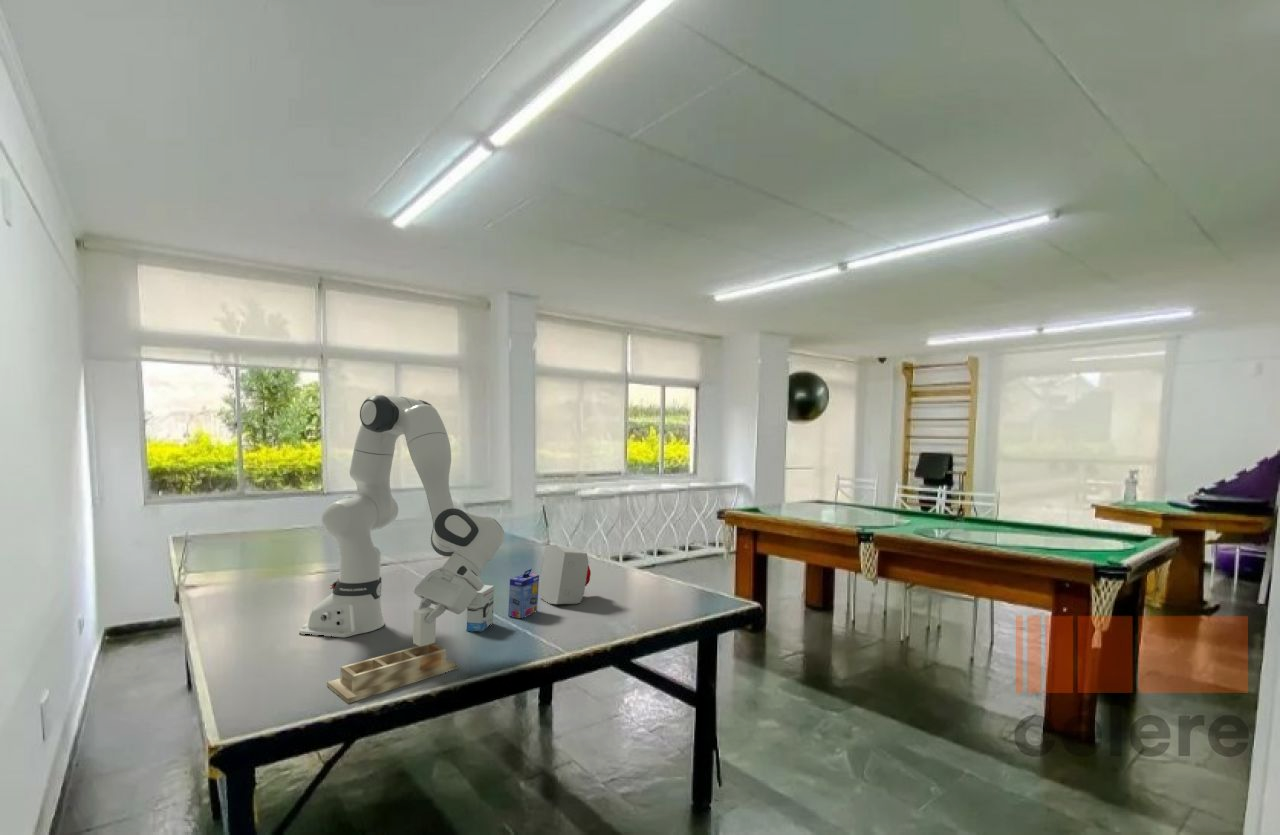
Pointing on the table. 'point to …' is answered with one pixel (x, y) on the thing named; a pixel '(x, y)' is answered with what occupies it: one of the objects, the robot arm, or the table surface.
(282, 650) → the table surface
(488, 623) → the ink box
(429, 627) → the off-white tall block
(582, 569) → the electrical switch box
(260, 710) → the table surface
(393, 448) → the robot arm
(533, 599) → the ink cartridge box
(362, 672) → the rack
